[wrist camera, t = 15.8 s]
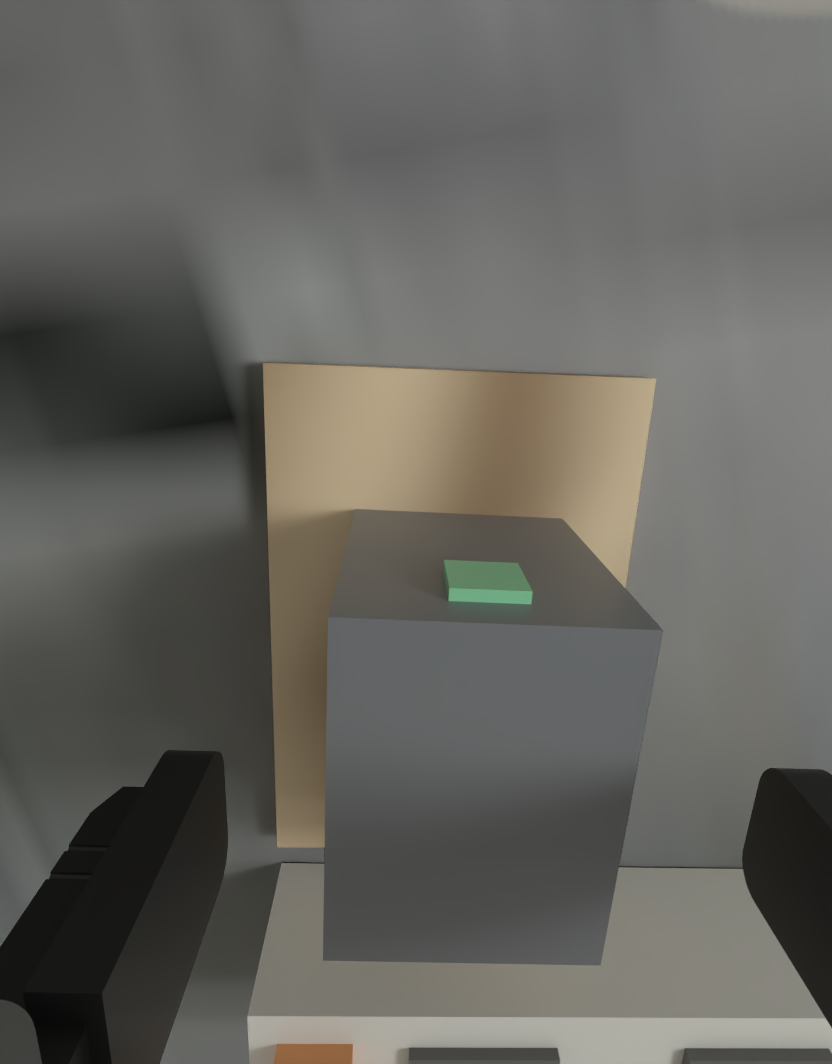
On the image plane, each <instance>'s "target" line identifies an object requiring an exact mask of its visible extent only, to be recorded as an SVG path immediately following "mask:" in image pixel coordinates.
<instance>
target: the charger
mask: <svg viewBox="0 0 832 1064" xmlns="http://www.w3.org/2000/svg"><path fill="white" fill-rule="evenodd" d="M662 632H663V630H662V629H661V628H660V627H659V625H658V624H657V623H656V622H655V621H654V620H653V619H652V618H651V617H650V615H649V614H648V613H647V612H646V611H645V610H644V609H643V608H642V606H641V605H640V604H639V603H638V602H637V601H636V600H635V599H634V598H633V596H632V595H631V594H630V593H629V592H628V591H627V590H626V589H625V588H624V586H623V585H622V584H621V583H620V582H619V581H618V580H617V579H616V578H615V576H614V575H613V574H612V573H611V572H610V571H609V570H608V569H607V568H606V566H605V565H604V564H603V563H602V562H601V561H600V560H599V559H598V557H597V556H596V555H595V554H594V553H593V552H592V551H591V550H590V549H589V547H588V546H587V545H586V544H585V543H584V542H583V541H582V540H581V539H580V537H579V536H578V535H577V534H576V533H575V532H574V531H573V530H572V529H571V527H570V526H569V525H568V524H567V523H566V522H565V521H564V520H563V518H542V517H520V516H498V515H476V514H455V513H433V512H411V511H389V510H368V509H355V513H354V517H353V521H352V525H351V529H350V533H349V537H348V541H347V545H346V548H345V552H344V556H343V560H342V564H341V568H340V572H339V576H338V580H337V584H336V588H335V591H334V595H333V599H332V603H331V607H330V611H329V615H328V646H327V714H326V782H325V850H324V918H323V961H374V962H430V963H487V964H544V965H600V966H601V961H602V955H603V950H604V945H605V939H606V934H607V928H608V923H609V918H610V912H611V907H612V901H613V896H614V891H615V885H616V880H617V874H618V869H619V864H620V858H621V853H622V847H623V842H624V837H625V831H626V826H627V821H628V815H629V810H630V804H631V799H632V794H633V788H634V783H635V777H636V772H637V767H638V761H639V756H640V750H641V745H642V740H643V734H644V729H645V723H646V718H647V713H648V707H649V702H650V697H651V691H652V686H653V680H654V675H655V670H656V664H657V659H658V653H659V648H660V643H661V637H662Z"/></svg>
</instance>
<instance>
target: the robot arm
mask: <svg viewBox="0 0 832 1064" xmlns="http://www.w3.org/2000/svg"><path fill="white" fill-rule="evenodd" d="M227 848H228V830H227V812H226V795H225V777H224V762H223V757H222V754H221V753H220V752H215V751H178V750H168V751H166V752H165V753H164V754H163V756H162V757H161V759H160V760H159V762H158V764H157V765H156V767H155V769H154V770H153V772H152V774H151V776H150V777H149V779H148V781H147V782H146V784H145V786H144V787H122V788H121V789H120V790H118V791H117V792H116V793H115V794H113V795H112V796H111V797H110V798H108V799H107V800H106V801H105V802H103V803H102V804H101V805H100V806H98V807H97V808H96V809H95V810H93V811H92V812H91V813H90V814H89V816H88V817H87V819H86V820H85V822H84V823H83V825H82V826H81V828H80V829H79V831H78V832H77V834H76V835H75V837H74V838H73V840H72V841H71V843H70V844H69V849H68V851H65V852H64V853H63V855H62V856H61V857H60V859H59V860H58V862H57V863H56V865H55V866H54V868H53V869H52V871H51V875H50V878H49V879H46V880H45V881H44V883H43V884H42V886H41V887H40V889H39V890H38V892H37V893H36V895H35V896H34V898H33V899H32V901H31V902H30V904H29V905H28V907H27V908H26V910H25V911H24V913H23V914H22V916H21V917H20V919H19V920H18V922H17V923H16V925H15V926H14V928H13V929H12V931H11V932H10V934H9V935H8V936H7V938H6V939H5V941H4V942H3V944H2V945H1V947H0V1064H160V1061H161V1058H162V1055H163V1052H164V1049H165V1046H166V1043H167V1041H168V1038H169V1035H170V1032H171V1029H172V1026H173V1023H174V1020H175V1017H176V1014H177V1011H178V1008H179V1006H180V1003H181V1000H182V997H183V994H184V991H185V988H186V985H187V982H188V979H189V976H190V974H191V971H192V968H193V965H194V962H195V959H196V956H197V953H198V950H199V947H200V944H201V942H202V939H203V936H204V933H205V930H206V927H207V924H208V921H209V918H210V915H211V912H212V910H213V907H214V904H215V901H216V898H217V895H218V892H219V889H220V886H221V883H222V879H223V875H224V870H225V865H226V858H227ZM742 862H743V872H744V877H745V881H746V884H747V887H748V890H749V892H750V895H751V897H752V899H753V900H754V902H755V904H756V906H757V907H758V909H759V910H760V912H761V914H762V915H763V917H764V919H765V920H766V922H767V923H768V925H769V927H770V928H771V930H772V932H773V933H774V935H775V936H776V938H777V940H778V941H779V943H780V945H781V946H782V948H783V950H784V951H785V953H786V954H787V956H788V958H789V959H790V961H791V963H792V964H793V966H794V967H795V969H796V971H797V972H798V974H799V976H800V977H801V979H802V980H803V982H804V984H805V985H806V987H807V989H808V990H809V992H810V994H811V995H812V997H813V998H814V1000H815V1002H816V1003H817V1005H818V1007H819V1008H820V1010H821V1011H822V1013H823V1015H824V1016H825V1018H826V1020H827V1021H828V1023H829V1024H830V1026H831V1028H832V775H831V774H830V773H828V772H826V771H824V770H819V769H784V768H770V769H767V770H766V771H764V773H763V774H762V776H761V778H760V781H759V785H758V789H757V793H756V798H755V802H754V806H753V810H752V814H751V819H750V823H749V827H748V831H747V836H746V840H745V844H744V848H743V857H742Z"/></svg>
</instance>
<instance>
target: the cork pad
mask: <svg viewBox="0 0 832 1064" xmlns="http://www.w3.org/2000/svg"><path fill="white" fill-rule="evenodd" d="M263 384H264V418H265V452H266V486H267V519H268V553H269V587H270V621H271V654H272V688H273V722H274V755H275V789H276V823H277V847H291V848H325V782H326V714H327V646H328V615H329V611H330V607H331V603H332V599H333V595H334V591H335V588H336V584H337V580H338V576H339V572H340V568H341V564H342V560H343V556H344V552H345V548H346V545H347V541H348V537H349V533H350V529H351V525H352V521H353V517H354V513H355V509H368V510H389V511H411V512H433V513H455V514H476V515H498V516H520V517H542V518H563V520H564V521H565V522H566V523H567V524H568V525H569V526H570V527H571V529H572V530H573V531H574V532H575V533H576V534H577V535H578V536H579V537H580V539H581V540H582V541H583V542H584V543H585V544H586V545H587V546H588V547H589V549H590V550H591V551H592V552H593V553H594V554H595V555H596V556H597V557H598V559H599V560H600V561H601V562H602V563H603V564H604V565H605V566H606V568H607V569H608V570H609V571H610V572H611V573H612V574H613V575H614V576H615V578H616V579H617V580H618V581H619V582H620V583H621V584H622V585H623V586H624V588H625V587H626V580H627V574H628V567H629V560H630V553H631V547H632V540H633V533H634V526H635V520H636V513H637V506H638V499H639V493H640V486H641V479H642V472H643V466H644V459H645V452H646V445H647V439H648V432H649V425H650V418H651V412H652V405H653V398H654V391H655V385H656V379H654V378H648V377H626V376H601V375H577V374H552V373H528V372H503V371H478V370H454V369H429V368H405V367H380V366H355V365H331V364H306V363H282V362H265V363H263Z"/></svg>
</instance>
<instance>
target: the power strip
mask: <svg viewBox="0 0 832 1064" xmlns="http://www.w3.org/2000/svg"><path fill="white" fill-rule="evenodd" d="M323 918H324V864H313V863H281V868H280V872H279V877H278V881H277V886H276V890H275V895H274V899H273V903H272V908H271V912H270V917H269V921H268V926H267V930H266V935H265V939H264V944H263V948H262V953H261V957H260V961H259V966H258V970H257V975H256V979H255V984H254V988H253V993H252V997H251V1002H250V1006H249V1010H248V1015H247V1021H248V1041H249V1060H250V1064H832V1028H831V1026H830V1024H829V1023H828V1021H827V1020H826V1018H825V1016H824V1015H823V1013H822V1011H821V1010H820V1008H819V1007H818V1005H817V1003H816V1002H815V1000H814V998H813V997H812V995H811V994H810V992H809V990H808V989H807V987H806V985H805V984H804V982H803V980H802V979H801V977H800V976H799V974H798V972H797V971H796V969H795V967H794V966H793V964H792V963H791V961H790V959H789V958H788V956H787V954H786V953H785V951H784V950H783V948H782V946H781V945H780V943H779V941H778V940H777V938H776V936H775V935H774V933H773V932H772V930H771V928H770V927H769V925H768V923H767V922H766V920H765V919H764V917H763V915H762V914H761V912H760V910H759V909H758V907H757V906H756V904H755V902H754V900H753V899H752V897H751V895H750V892H749V890H748V887H747V884H746V881H745V877H744V872H743V869H708V868H629V867H619V869H618V874H617V880H616V885H615V891H614V896H613V901H612V907H611V912H610V918H609V923H608V928H607V934H606V939H605V945H604V950H603V955H602V961H601V966H600V965H544V964H487V963H430V962H374V961H323Z"/></svg>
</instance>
